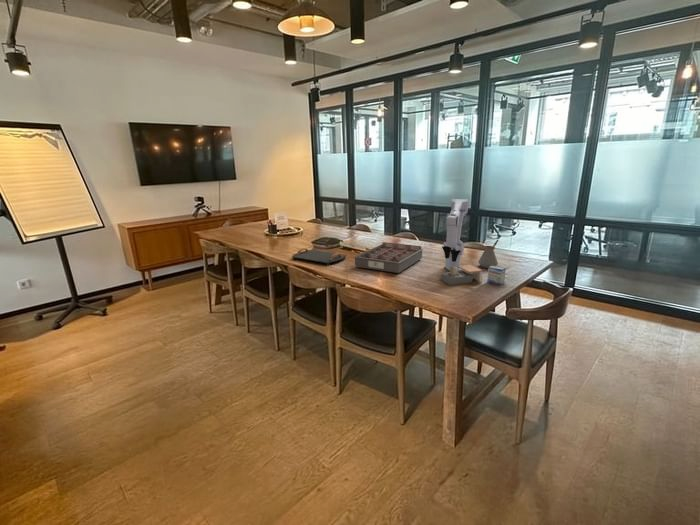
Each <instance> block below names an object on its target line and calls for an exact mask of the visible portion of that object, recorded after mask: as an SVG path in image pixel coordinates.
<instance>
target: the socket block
mask: <svg viewBox="0 0 700 525" xmlns="http://www.w3.org/2000/svg"><path fill="white" fill-rule="evenodd" d="M440 280H441V281H443V282H444V283H445V284H447V285H449V286H453V285H455V286H456V285H462V284H469V283H473V280H474V279H473V275H471V274H469V273H468V272H466V271H464V270H460V271H457V276H450V271H445V272H441V273H440Z"/></svg>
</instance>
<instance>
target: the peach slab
mask: <svg viewBox="0 0 700 525" xmlns="http://www.w3.org/2000/svg"><path fill="white" fill-rule="evenodd" d="M458 268H460V269H462V270H463V271H465V272H467V273H469V274H471V275H473V280H475V281H476V282H479V283H482V281H483V270H482V269H480V268H479V267H476V266H474V265H472V264H463V265H461V264H460V266H458ZM462 270H461V271H462Z"/></svg>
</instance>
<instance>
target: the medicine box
mask: <svg viewBox="0 0 700 525" xmlns="http://www.w3.org/2000/svg"><path fill="white" fill-rule="evenodd" d="M487 269H488V270H487V271H488V272H487V283H490V284H496V285H499V286H500V285H501V286H502V285H503V284H504V283H505V278H506V271H507V269H506V268H505V267H501V266H497V265H496V266H490V267H489V268H487Z"/></svg>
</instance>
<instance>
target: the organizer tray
mask: <svg viewBox="0 0 700 525" xmlns="http://www.w3.org/2000/svg"><path fill="white" fill-rule="evenodd" d="M423 251H424V248H422V246H421V245H414V244H405V243H404V244H403V243H396V242H386V241H382V244H379V245H377V246H375V247H373V248H370V249H368V250H365V251H364V252H361V253H360V254H357V255H354V256H353V258H354V266H355V268H362V269H363V268H364V269H370V270H376V271H383V272H389V273H396V274H399V273H401V272H403V271H404V270H405V269H407V268H409V267H411V266H412V265H413V264H415V263H417V262H418V261H420V260H421V259H423Z"/></svg>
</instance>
